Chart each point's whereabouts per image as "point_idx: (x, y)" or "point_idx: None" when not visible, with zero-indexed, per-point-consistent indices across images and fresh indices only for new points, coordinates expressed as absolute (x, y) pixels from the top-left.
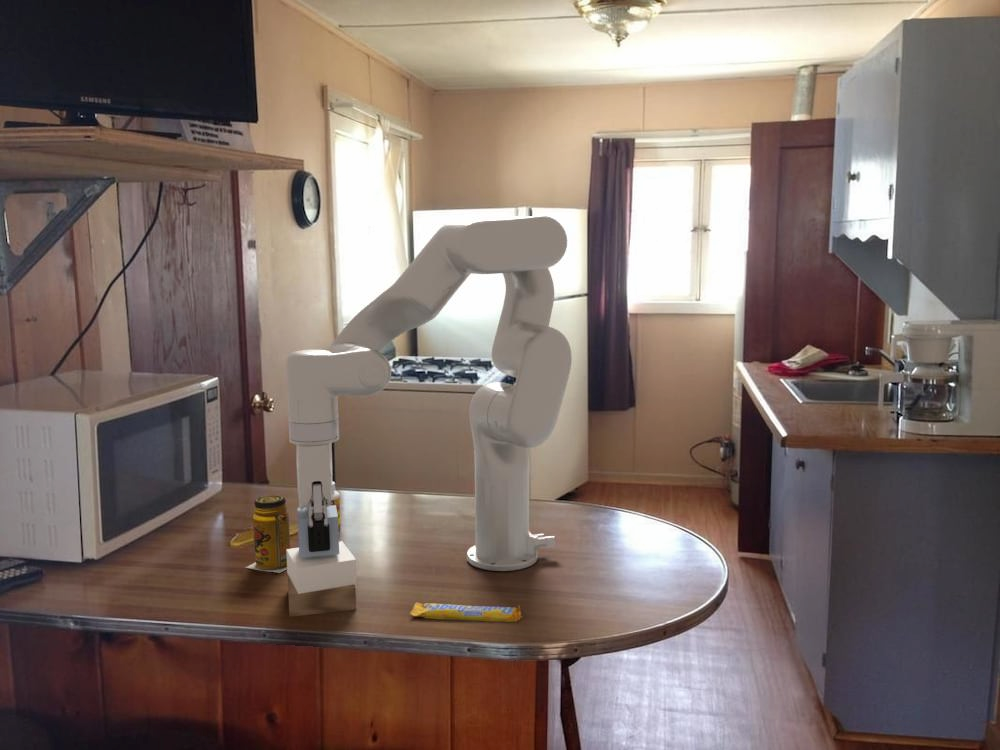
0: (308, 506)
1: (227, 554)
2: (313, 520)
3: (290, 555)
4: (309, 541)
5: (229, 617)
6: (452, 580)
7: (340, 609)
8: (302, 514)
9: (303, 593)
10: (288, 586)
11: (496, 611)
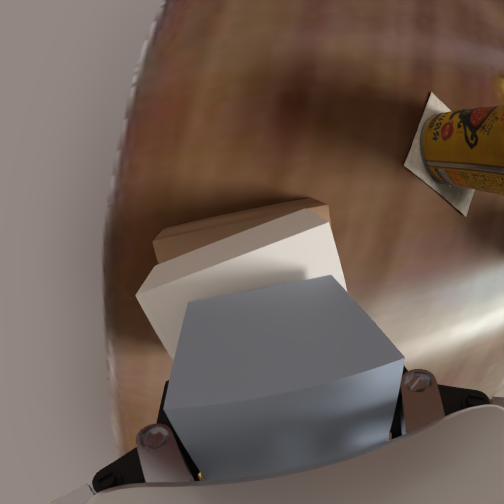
0: (402, 402)
1: (476, 68)
2: (100, 472)
3: (262, 250)
4: None
5: (168, 94)
6: None
7: None
8: (272, 415)
9: None
10: (204, 230)
11: None
